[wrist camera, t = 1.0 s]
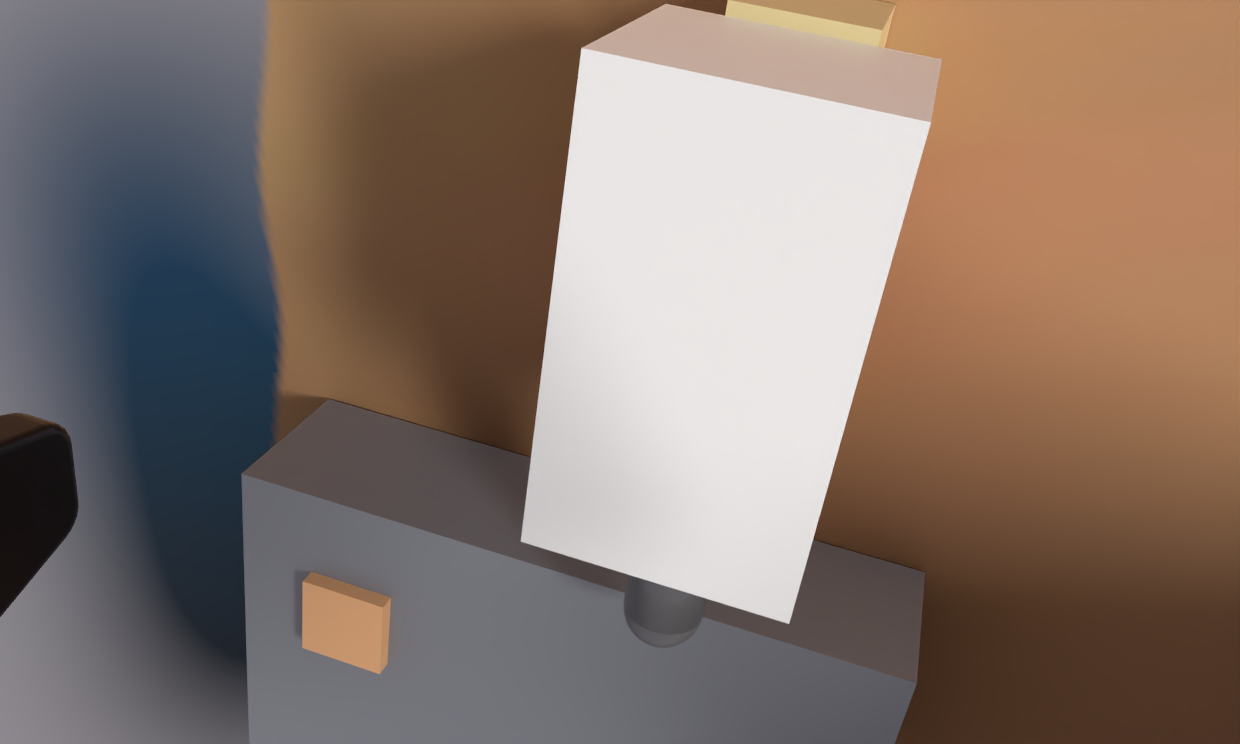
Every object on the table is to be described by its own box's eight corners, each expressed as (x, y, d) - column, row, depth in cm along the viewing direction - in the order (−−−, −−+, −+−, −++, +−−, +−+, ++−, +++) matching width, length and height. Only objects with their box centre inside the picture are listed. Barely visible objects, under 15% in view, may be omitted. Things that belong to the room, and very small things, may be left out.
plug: (951, 14, 16) (936, 101, 10) (811, 519, 20) (750, 758, 15) (709, -32, 16) (583, 28, 11) (623, 466, 21) (504, 676, 15)
